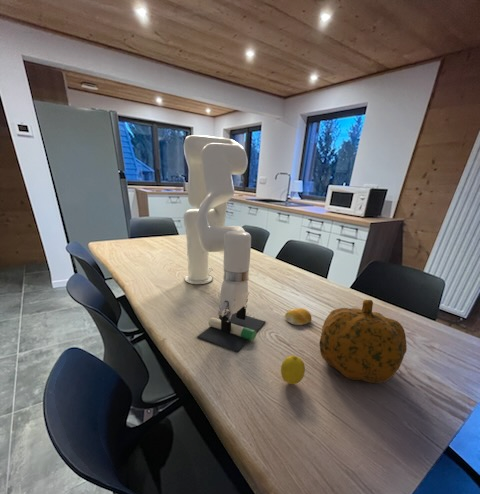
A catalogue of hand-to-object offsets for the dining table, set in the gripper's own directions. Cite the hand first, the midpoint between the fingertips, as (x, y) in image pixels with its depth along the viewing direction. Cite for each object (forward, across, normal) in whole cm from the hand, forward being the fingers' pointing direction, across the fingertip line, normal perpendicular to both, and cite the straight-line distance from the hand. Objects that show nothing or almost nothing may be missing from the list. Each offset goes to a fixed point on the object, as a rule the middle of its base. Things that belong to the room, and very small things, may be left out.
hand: (233, 324), depth 85 cm
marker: (0, +1, +1) cm, 1 cm away
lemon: (+2, +14, +24) cm, 28 cm away
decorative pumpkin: (+2, -1, +37) cm, 37 cm away
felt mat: (+2, 0, 0) cm, 2 cm away
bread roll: (+2, -18, +16) cm, 24 cm away
